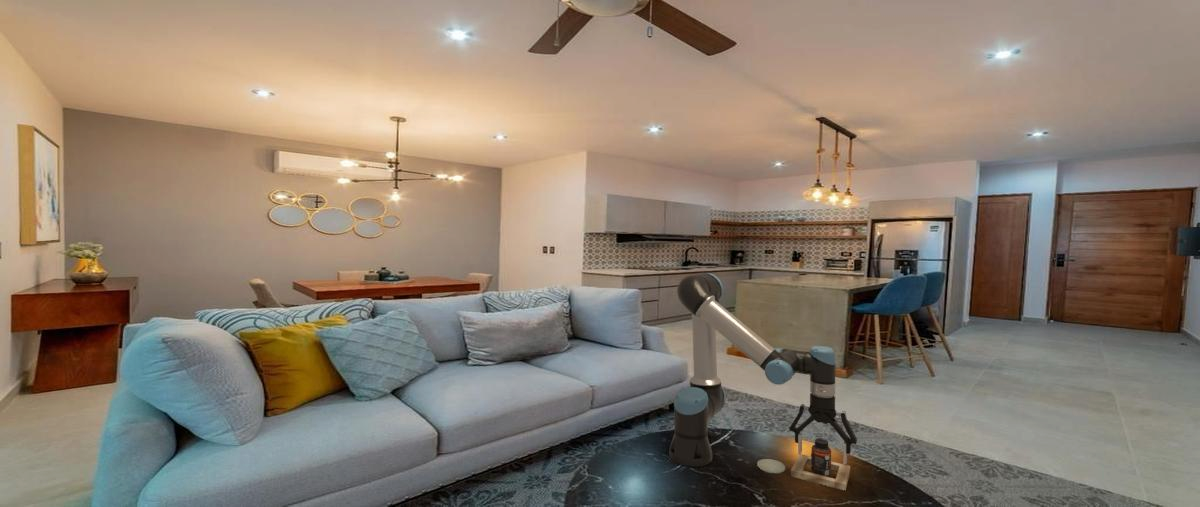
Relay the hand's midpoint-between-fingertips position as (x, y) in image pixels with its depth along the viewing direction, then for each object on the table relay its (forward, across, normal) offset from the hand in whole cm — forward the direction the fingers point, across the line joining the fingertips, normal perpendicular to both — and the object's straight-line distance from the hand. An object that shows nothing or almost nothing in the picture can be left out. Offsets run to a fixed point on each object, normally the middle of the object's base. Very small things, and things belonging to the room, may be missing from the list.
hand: (822, 457), depth 158 cm
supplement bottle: (+6, 0, 0) cm, 6 cm away
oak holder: (+6, 0, 0) cm, 6 cm away
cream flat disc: (+6, -15, -4) cm, 17 cm away
